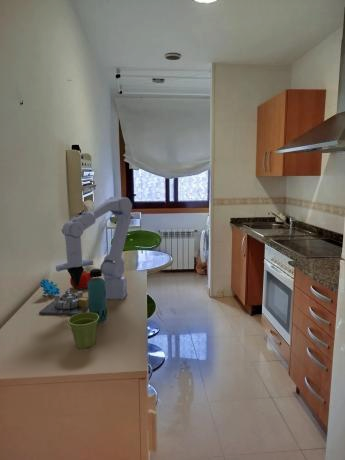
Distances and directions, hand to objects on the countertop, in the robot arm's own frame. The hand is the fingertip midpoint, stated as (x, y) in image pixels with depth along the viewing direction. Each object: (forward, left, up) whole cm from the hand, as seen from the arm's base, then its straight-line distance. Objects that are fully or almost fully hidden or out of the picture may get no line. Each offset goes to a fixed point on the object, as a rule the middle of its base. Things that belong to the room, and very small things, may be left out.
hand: (76, 285), depth 132 cm
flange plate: (+4, -2, -10) cm, 11 cm away
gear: (+19, -14, -10) cm, 26 cm away
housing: (+4, -2, -10) cm, 11 cm away
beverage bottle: (-13, +13, -10) cm, 21 cm away
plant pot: (-14, +28, -10) cm, 33 cm away
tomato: (+9, -26, -10) cm, 30 cm away
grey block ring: (+3, -1, -8) cm, 9 cm away
